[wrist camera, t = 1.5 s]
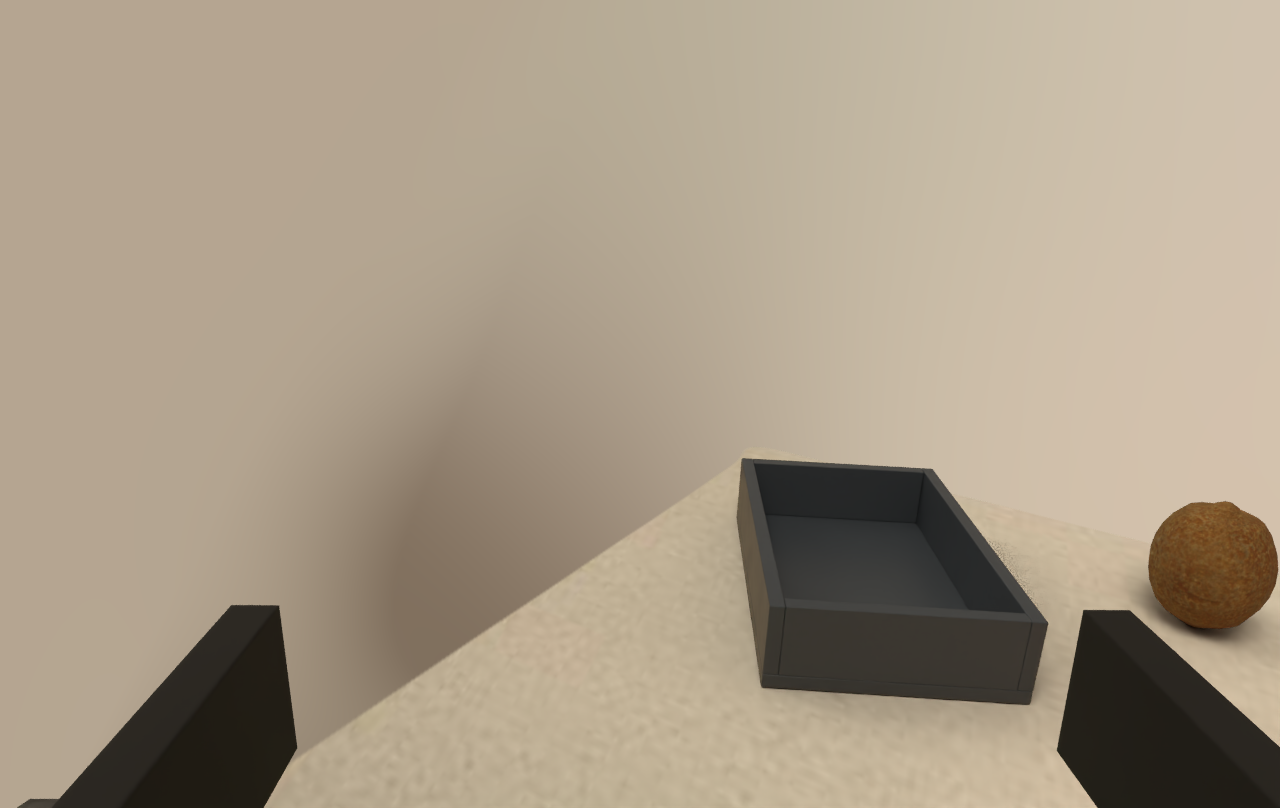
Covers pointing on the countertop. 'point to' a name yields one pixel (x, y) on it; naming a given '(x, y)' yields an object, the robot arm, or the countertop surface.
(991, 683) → the dark grey open tray
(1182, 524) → the fruit
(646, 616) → the countertop surface
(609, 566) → the countertop surface
